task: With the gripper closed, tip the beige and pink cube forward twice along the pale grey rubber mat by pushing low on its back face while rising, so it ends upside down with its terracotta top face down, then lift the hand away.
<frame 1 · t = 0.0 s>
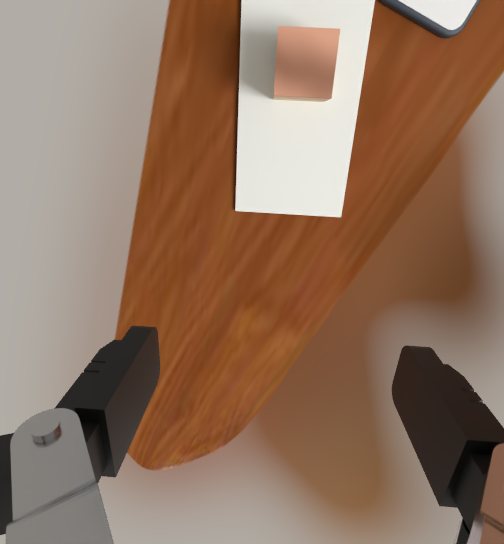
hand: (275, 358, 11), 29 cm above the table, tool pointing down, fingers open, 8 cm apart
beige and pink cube: (301, 72, 33), resting on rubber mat
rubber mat: (299, 90, 34), on the table
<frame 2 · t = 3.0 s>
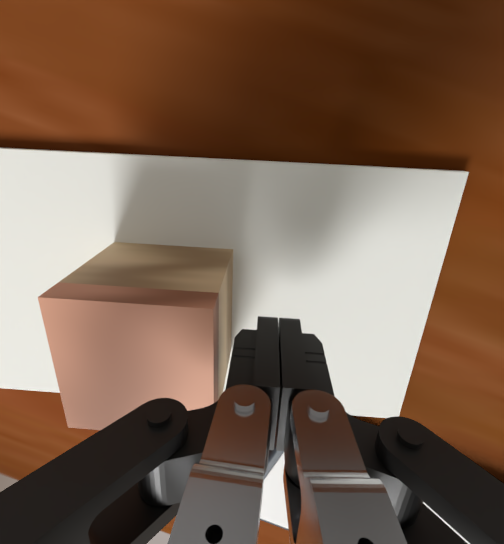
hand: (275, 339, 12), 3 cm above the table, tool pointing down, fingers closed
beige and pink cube: (176, 298, 15), resting on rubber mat
phone case: (382, 488, 21), on the table
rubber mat: (146, 292, 15), on the table
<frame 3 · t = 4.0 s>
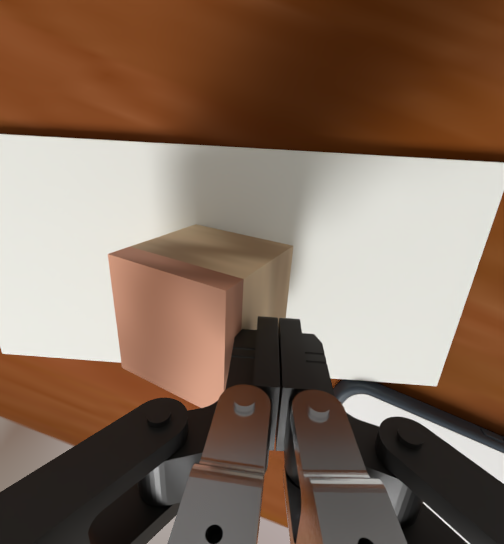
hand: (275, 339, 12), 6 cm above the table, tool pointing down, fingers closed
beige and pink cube: (239, 285, 16), point 2 cm above the table, tilted 26°, touching gripper, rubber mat
phone case: (415, 454, 23), on the table
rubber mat: (217, 270, 17), on the table
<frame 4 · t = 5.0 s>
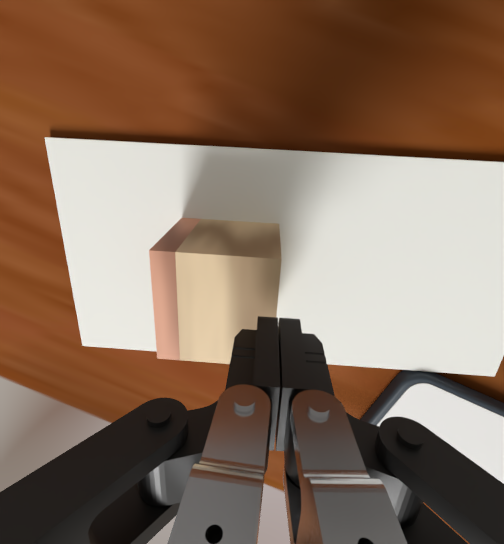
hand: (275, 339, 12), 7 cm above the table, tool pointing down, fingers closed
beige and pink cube: (275, 289, 16), point 3 cm above the table, tilted 90°, touching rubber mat
phone case: (465, 442, 24), on the table
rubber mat: (293, 267, 18), on the table
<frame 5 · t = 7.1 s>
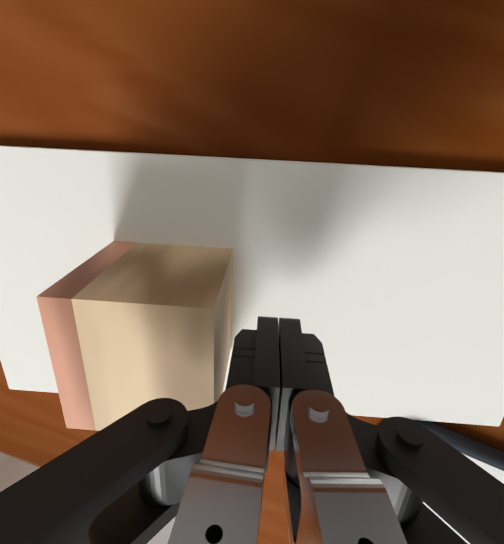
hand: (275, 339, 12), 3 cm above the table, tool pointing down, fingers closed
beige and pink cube: (224, 334, 13), point 3 cm above the table, tilted 90°, touching gripper, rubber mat
phone case: (463, 494, 20), on the table
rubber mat: (255, 299, 15), on the table
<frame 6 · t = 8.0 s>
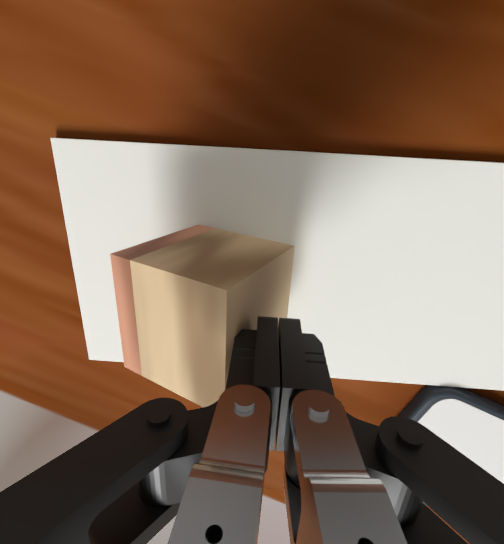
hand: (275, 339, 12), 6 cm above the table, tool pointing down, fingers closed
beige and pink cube: (262, 325, 13), point 5 cm above the table, tilted 117°, touching gripper, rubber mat
phone case: (490, 458, 23), on the table
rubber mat: (316, 277, 17), on the table
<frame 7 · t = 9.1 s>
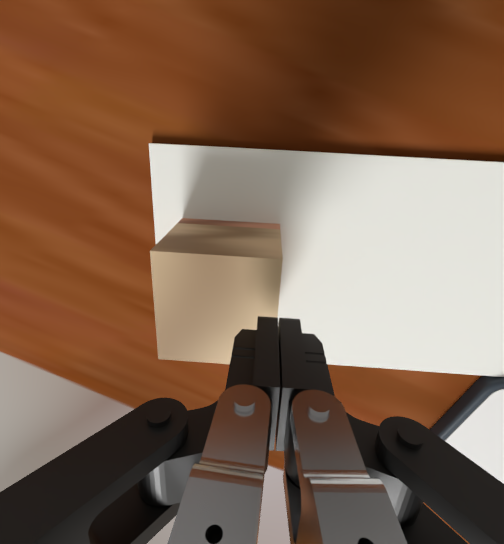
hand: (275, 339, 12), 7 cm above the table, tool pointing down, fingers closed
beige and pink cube: (215, 313, 14), point 5 cm above the table, tilted 180°, touching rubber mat
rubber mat: (386, 273, 18), on the table
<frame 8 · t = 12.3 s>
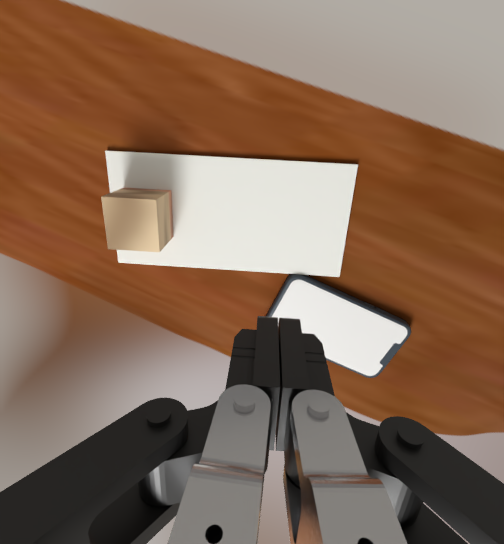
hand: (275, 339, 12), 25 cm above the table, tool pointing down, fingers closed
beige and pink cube: (131, 225, 31), point 5 cm above the table, tilted 180°, touching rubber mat
phone case: (333, 322, 41), on the table
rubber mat: (229, 216, 36), on the table
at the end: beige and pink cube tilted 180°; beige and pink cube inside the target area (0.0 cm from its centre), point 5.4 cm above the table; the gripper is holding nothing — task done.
